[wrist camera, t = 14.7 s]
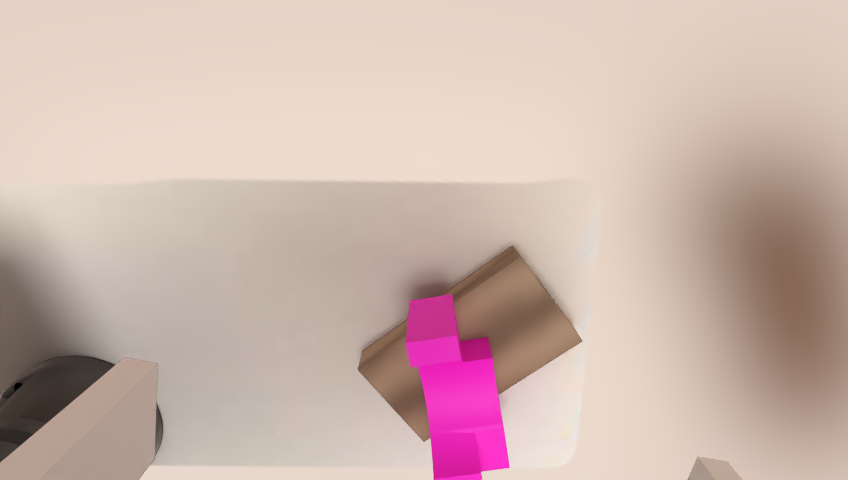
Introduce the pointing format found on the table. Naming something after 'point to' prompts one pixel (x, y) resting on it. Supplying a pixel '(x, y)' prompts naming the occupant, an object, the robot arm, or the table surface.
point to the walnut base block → (479, 335)
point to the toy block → (456, 392)
